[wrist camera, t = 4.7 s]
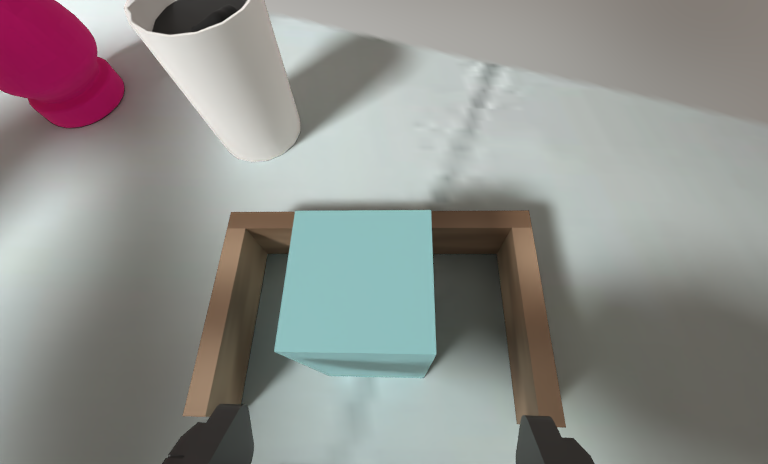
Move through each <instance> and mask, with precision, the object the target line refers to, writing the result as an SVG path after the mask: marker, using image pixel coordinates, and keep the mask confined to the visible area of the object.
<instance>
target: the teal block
mask: <svg viewBox="0 0 768 464" xmlns="http://www.w3.org/2000/svg"><path fill="white" fill-rule="evenodd" d="M274 352H276V353H278V354H280V355H283V356H285V357H287V358H290V359H292V360H294V361H296V362H299V363H301V364H303V365H306V366H308V367H310V368H312V369H315V370H317V371H319V372H322V373H324V374H326V375H328V376H356V377H401V378H424V377H425V375H426V373H427V371H428V369H429V367H430V366H431V364H432V362H433V360H434V358H435V356H436V330H435V303H434V275H433V248H432V220H431V210H342V211H295V215H294V222H293V229H292V235H291V242H290V249H289V255H288V262H287V269H286V275H285V282H284V289H283V295H282V302H281V309H280V315H279V322H278V328H277V335H276V342H275V348H274Z"/></svg>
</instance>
